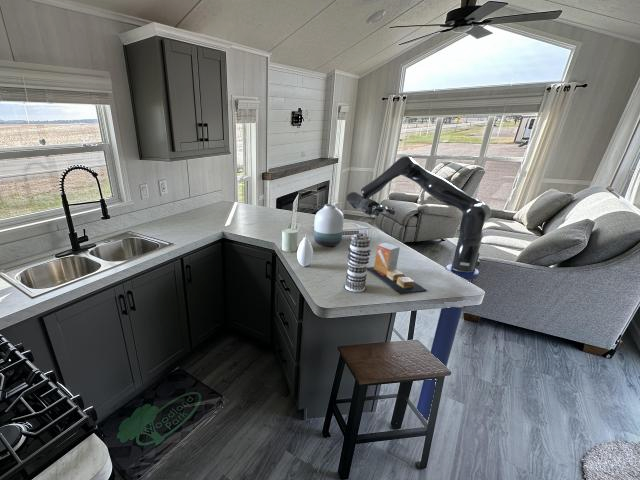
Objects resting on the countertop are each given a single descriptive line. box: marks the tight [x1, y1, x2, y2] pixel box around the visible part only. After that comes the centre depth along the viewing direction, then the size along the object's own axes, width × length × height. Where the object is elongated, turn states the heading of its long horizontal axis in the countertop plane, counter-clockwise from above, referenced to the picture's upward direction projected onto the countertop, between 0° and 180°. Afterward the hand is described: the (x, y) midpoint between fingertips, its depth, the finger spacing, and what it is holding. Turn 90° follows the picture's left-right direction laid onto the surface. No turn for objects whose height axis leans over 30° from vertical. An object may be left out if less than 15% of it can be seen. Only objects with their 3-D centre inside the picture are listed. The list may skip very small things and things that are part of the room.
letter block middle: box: [387, 269, 404, 281], centre depth 153 cm, size 5×5×3 cm
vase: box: [313, 203, 345, 247], centre depth 197 cm, size 17×17×24 cm
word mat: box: [366, 266, 427, 295], centre depth 154 cm, size 12×28×1 cm, turn 10°
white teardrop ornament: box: [296, 235, 314, 267], centre depth 168 cm, size 8×8×18 cm
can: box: [281, 228, 299, 253], centre depth 193 cm, size 9×9×12 cm
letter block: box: [397, 276, 416, 288], centre depth 146 cm, size 5×5×3 cm
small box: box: [373, 242, 401, 275], centre depth 159 cm, size 8×6×13 cm
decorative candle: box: [345, 232, 372, 293], centre depth 142 cm, size 9×9×25 cm
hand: (386, 213), depth 163 cm, fingers open, 8 cm apart
